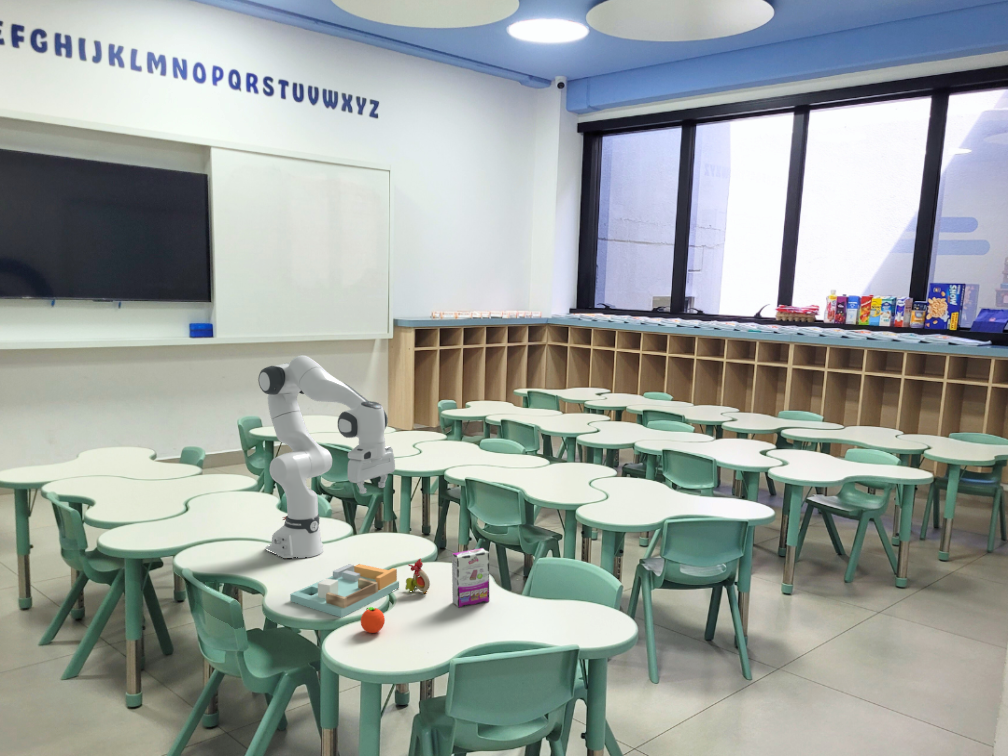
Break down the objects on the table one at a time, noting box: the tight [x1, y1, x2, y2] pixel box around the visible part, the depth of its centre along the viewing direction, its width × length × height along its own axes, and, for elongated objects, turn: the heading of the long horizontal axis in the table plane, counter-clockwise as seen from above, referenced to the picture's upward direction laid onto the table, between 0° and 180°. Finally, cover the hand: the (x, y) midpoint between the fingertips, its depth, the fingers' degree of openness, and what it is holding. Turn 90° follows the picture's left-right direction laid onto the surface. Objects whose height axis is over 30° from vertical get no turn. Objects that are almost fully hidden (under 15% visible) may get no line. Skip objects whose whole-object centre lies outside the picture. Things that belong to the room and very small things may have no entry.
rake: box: [354, 563, 398, 590], centre depth 255 cm, size 16×9×4 cm, turn 63°
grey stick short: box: [332, 563, 355, 579], centre depth 261 cm, size 2×8×2 cm, turn 148°
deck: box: [289, 575, 400, 618], centre depth 250 cm, size 22×27×2 cm
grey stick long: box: [342, 570, 360, 582], centre depth 257 cm, size 6×2×2 cm, turn 58°
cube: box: [318, 577, 338, 599], centre depth 243 cm, size 4×4×4 cm
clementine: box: [360, 606, 386, 634], centre depth 223 cm, size 8×7×7 cm
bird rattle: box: [405, 558, 431, 594], centre depth 253 cm, size 6×11×9 cm
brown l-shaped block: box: [326, 578, 378, 608], centre depth 242 cm, size 8×15×3 cm, turn 148°
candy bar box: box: [451, 547, 490, 608], centre depth 244 cm, size 11×5×16 cm, turn 117°
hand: (372, 490), depth 260 cm, fingers open, 8 cm apart
